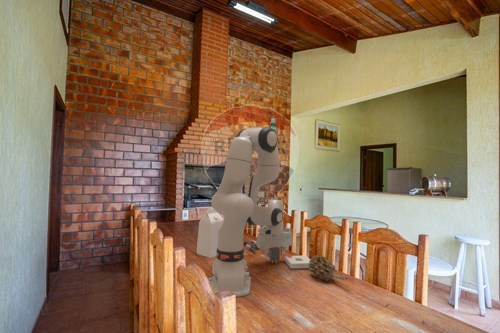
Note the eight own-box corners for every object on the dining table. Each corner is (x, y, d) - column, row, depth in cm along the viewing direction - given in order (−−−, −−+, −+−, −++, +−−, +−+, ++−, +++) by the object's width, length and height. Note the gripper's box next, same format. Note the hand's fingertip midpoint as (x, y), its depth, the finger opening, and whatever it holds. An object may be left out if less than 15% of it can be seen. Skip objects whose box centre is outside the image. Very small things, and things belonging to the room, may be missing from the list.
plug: (279, 264, 142) (279, 249, 142) (270, 264, 141) (271, 249, 141) (276, 260, 147) (277, 246, 148) (268, 260, 147) (268, 246, 147)
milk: (211, 249, 166) (213, 206, 166) (225, 253, 158) (226, 208, 159) (196, 253, 156) (197, 208, 157) (210, 258, 149) (211, 210, 149)
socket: (314, 269, 136) (314, 262, 136) (290, 269, 134) (290, 262, 134) (305, 261, 148) (305, 254, 148) (284, 261, 146) (284, 255, 146)
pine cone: (302, 275, 127) (303, 254, 127) (316, 271, 133) (316, 251, 133) (343, 293, 110) (344, 268, 110) (357, 288, 115) (357, 264, 115)
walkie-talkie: (240, 245, 177) (253, 254, 158) (240, 238, 177) (253, 246, 158) (252, 244, 180) (266, 252, 162) (253, 237, 180) (267, 245, 162)
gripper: (288, 226, 152) (288, 251, 151) (255, 229, 143) (254, 255, 143) (294, 229, 146) (294, 254, 146) (260, 231, 137) (260, 259, 137)
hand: (274, 255), depth 144 cm, fingers open, 8 cm apart
